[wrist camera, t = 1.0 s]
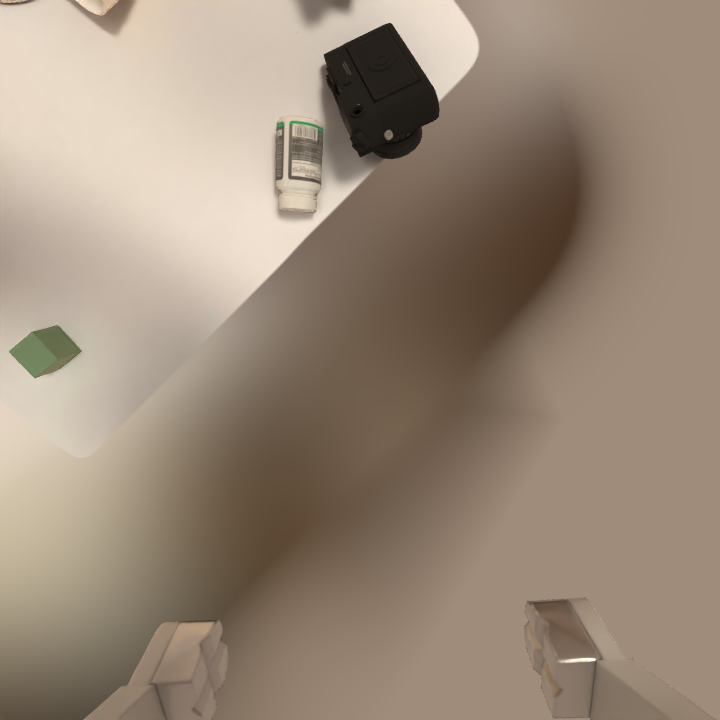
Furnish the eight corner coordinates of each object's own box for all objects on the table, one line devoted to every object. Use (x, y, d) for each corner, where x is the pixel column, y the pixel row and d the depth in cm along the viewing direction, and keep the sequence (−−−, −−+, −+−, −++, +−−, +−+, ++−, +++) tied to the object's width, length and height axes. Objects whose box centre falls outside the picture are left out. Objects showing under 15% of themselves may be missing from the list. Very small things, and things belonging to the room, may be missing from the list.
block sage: (35, 343, 50) (8, 351, 46) (57, 325, 49) (31, 331, 46) (59, 368, 51) (34, 378, 47) (81, 350, 50) (58, 359, 46)
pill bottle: (291, 129, 44) (288, 211, 46) (267, 114, 39) (265, 206, 42) (331, 128, 42) (326, 213, 45) (311, 114, 38) (306, 209, 40)
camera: (397, 81, 45) (331, 112, 46) (385, 7, 39) (309, 44, 40) (446, 163, 39) (369, 197, 40) (441, 91, 33) (349, 133, 33)
